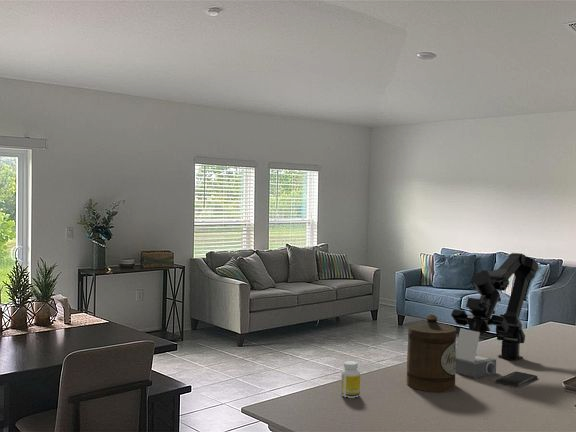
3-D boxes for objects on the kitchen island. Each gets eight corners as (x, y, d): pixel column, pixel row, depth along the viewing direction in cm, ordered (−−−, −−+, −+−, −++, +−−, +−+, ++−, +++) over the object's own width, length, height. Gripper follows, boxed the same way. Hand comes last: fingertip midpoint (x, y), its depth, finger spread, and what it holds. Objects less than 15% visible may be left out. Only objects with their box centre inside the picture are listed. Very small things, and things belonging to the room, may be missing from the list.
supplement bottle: (363, 396, 182) (363, 363, 181) (350, 400, 178) (351, 366, 178) (350, 391, 186) (350, 359, 185) (337, 395, 182) (337, 362, 182)
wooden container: (456, 393, 184) (458, 320, 184) (406, 390, 187) (407, 318, 187) (453, 379, 199) (454, 311, 198) (406, 376, 202) (407, 309, 201)
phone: (538, 376, 201) (517, 385, 191) (538, 379, 201) (517, 389, 191) (515, 371, 207) (493, 380, 196) (515, 374, 207) (493, 383, 196)
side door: (461, 328, 209) (460, 328, 208) (480, 332, 202) (478, 332, 202) (455, 358, 207) (453, 358, 207) (473, 363, 201) (472, 363, 201)
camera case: (474, 367, 214) (475, 353, 214) (497, 373, 207) (497, 359, 207) (454, 372, 208) (454, 358, 208) (476, 378, 200) (476, 364, 200)
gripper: (454, 285, 215) (436, 322, 208) (504, 291, 201) (487, 330, 194) (465, 305, 221) (448, 341, 213) (515, 312, 207) (499, 351, 200)
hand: (470, 340), depth 205 cm, fingers closed, pressing on side door
